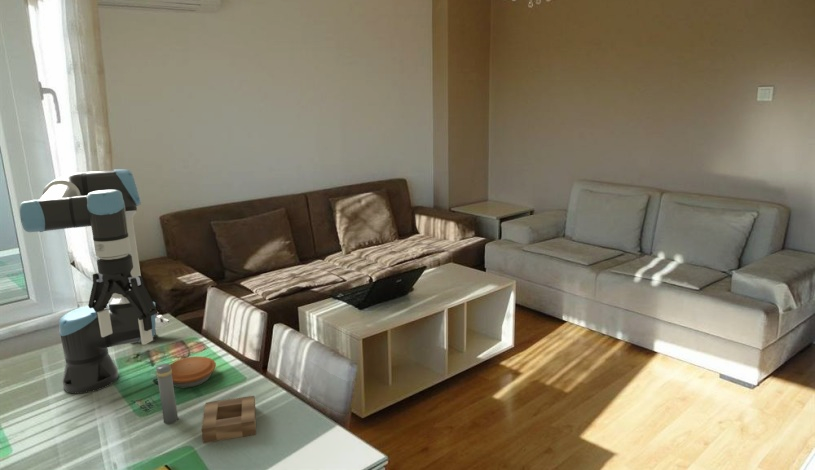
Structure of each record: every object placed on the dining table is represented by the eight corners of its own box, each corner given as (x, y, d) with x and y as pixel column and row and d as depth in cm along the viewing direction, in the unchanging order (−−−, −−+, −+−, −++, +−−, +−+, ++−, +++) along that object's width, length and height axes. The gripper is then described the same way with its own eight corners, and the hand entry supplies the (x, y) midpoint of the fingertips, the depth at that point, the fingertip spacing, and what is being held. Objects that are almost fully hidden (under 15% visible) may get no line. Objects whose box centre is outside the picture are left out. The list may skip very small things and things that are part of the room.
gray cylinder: (164, 417, 159) (156, 364, 155) (179, 415, 160) (171, 362, 156) (162, 425, 155) (154, 371, 151) (177, 422, 156) (170, 369, 152)
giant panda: (126, 343, 205) (122, 319, 203) (131, 337, 210) (128, 313, 208) (169, 341, 207) (165, 316, 204) (173, 334, 212) (170, 310, 210)
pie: (220, 384, 176) (219, 369, 175) (166, 396, 170) (164, 381, 169) (213, 363, 190) (211, 349, 189) (162, 373, 183) (160, 359, 182)
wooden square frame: (207, 415, 159) (205, 402, 158) (255, 408, 162) (254, 395, 161) (203, 442, 147) (201, 429, 146) (255, 434, 150) (254, 421, 149)
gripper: (63, 255, 138) (77, 337, 143) (140, 263, 129) (152, 351, 134) (90, 247, 145) (103, 326, 150) (165, 255, 135) (177, 339, 140)
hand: (126, 338), depth 142 cm, fingers open, 13 cm apart
